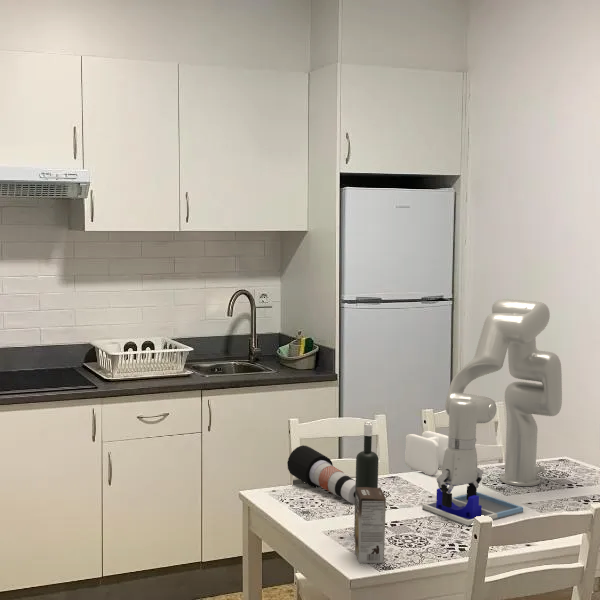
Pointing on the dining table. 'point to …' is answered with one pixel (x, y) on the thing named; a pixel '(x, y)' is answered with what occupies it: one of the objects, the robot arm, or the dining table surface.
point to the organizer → (425, 451)
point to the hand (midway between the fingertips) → (459, 503)
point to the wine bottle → (366, 464)
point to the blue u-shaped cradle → (466, 511)
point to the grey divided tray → (489, 508)
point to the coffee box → (370, 525)
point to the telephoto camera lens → (320, 472)
